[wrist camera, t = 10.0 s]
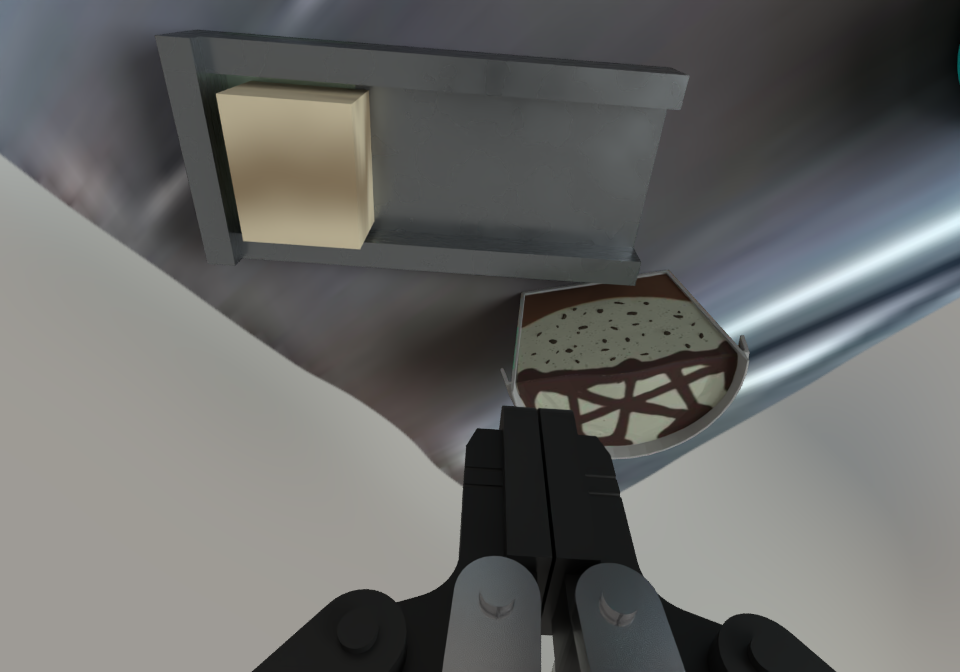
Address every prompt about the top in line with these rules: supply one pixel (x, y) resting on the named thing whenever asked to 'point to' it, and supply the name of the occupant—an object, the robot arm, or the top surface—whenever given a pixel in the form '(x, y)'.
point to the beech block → (300, 162)
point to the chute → (447, 152)
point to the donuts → (958, 64)
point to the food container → (626, 362)
